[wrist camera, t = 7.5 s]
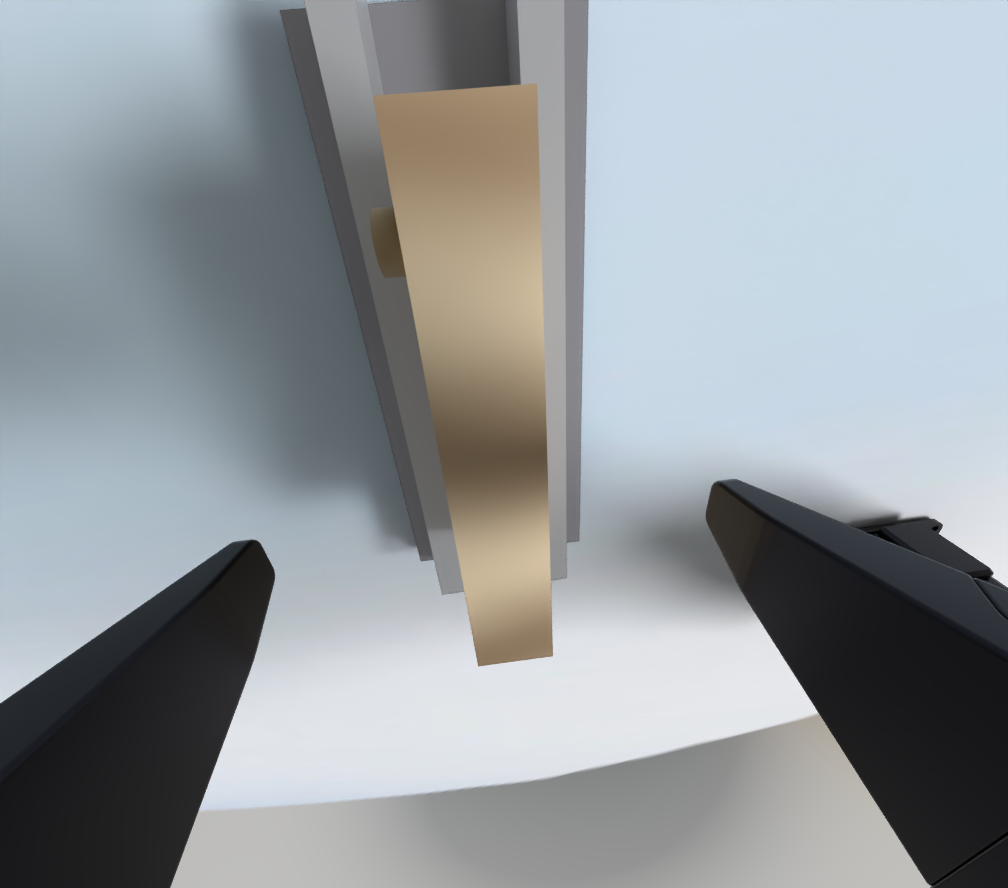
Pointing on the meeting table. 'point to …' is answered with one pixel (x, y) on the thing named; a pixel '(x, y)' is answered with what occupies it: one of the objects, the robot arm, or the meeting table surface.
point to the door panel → (478, 337)
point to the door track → (364, 185)
